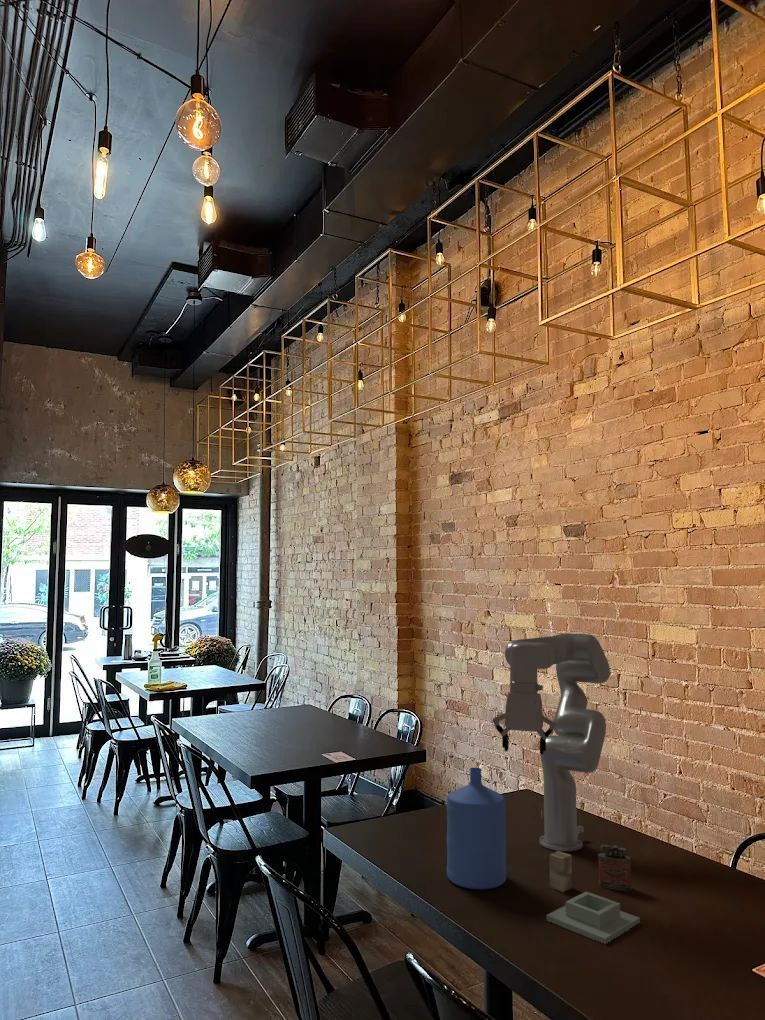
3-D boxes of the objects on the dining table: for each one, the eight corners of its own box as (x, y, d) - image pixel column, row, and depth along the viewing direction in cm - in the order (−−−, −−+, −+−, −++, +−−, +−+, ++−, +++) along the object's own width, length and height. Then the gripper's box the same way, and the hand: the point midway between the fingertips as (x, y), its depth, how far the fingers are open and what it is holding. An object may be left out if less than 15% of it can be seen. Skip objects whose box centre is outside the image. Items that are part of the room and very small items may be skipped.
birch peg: (558, 883, 185) (558, 850, 186) (572, 887, 182) (571, 855, 183) (549, 887, 183) (549, 854, 184) (563, 892, 180) (562, 859, 181)
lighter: (631, 886, 183) (630, 845, 185) (631, 891, 180) (630, 850, 181) (599, 882, 186) (598, 842, 187) (598, 887, 183) (597, 846, 184)
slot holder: (582, 902, 174) (582, 884, 174) (640, 923, 163) (639, 903, 163) (546, 920, 164) (546, 901, 164) (605, 944, 153) (604, 923, 153)
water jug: (505, 893, 179) (504, 778, 182) (443, 887, 182) (443, 774, 185) (507, 870, 194) (506, 763, 197) (450, 865, 197) (449, 760, 200)
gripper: (556, 688, 199) (557, 752, 197) (494, 685, 204) (494, 747, 202) (554, 691, 192) (555, 757, 190) (490, 688, 197) (490, 752, 195)
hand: (524, 752), depth 196 cm, fingers open, 9 cm apart
